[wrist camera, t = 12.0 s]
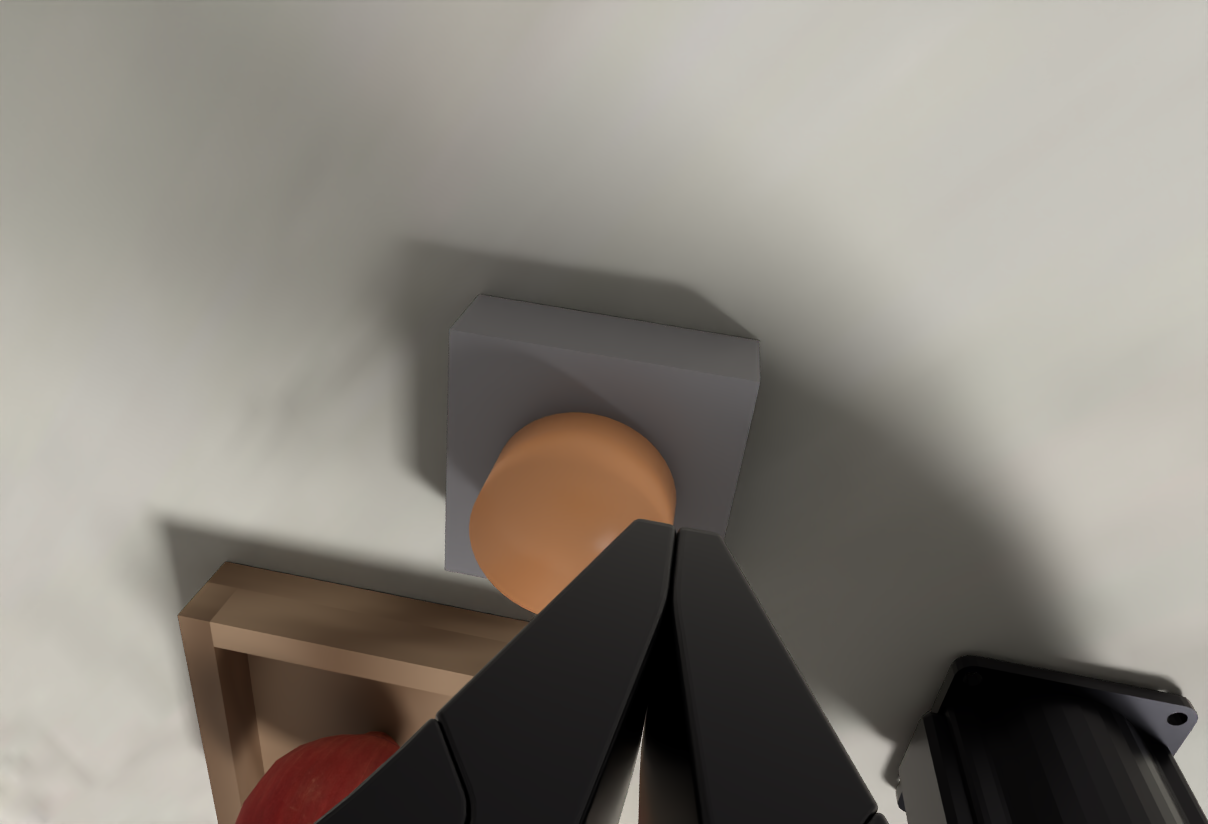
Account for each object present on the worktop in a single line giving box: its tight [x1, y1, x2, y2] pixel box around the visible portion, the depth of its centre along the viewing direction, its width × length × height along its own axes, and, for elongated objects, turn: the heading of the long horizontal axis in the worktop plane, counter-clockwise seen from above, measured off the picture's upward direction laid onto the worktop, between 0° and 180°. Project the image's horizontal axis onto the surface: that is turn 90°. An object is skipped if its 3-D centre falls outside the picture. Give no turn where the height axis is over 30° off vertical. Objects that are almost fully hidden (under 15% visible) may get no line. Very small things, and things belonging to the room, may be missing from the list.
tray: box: [178, 562, 529, 824], centre depth 27 cm, size 11×11×2 cm
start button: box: [469, 412, 676, 614], centre depth 18 cm, size 4×4×2 cm
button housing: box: [445, 294, 760, 579], centre depth 21 cm, size 7×7×2 cm
